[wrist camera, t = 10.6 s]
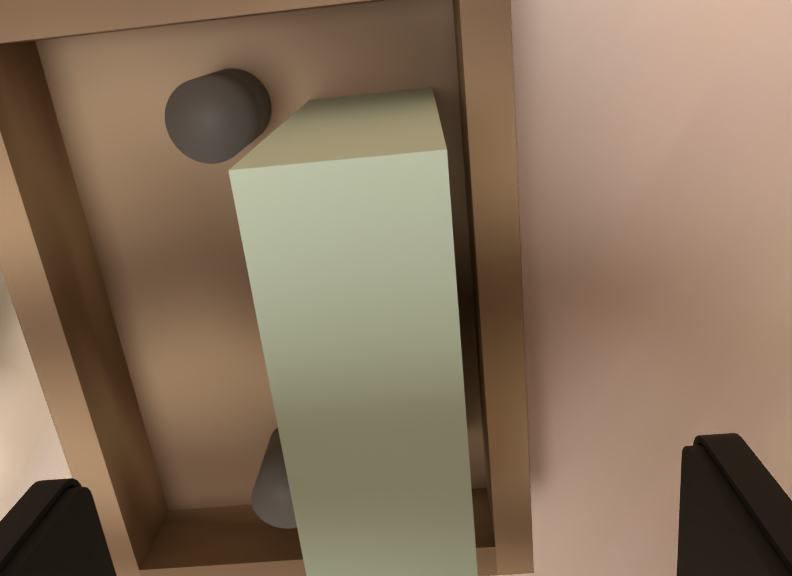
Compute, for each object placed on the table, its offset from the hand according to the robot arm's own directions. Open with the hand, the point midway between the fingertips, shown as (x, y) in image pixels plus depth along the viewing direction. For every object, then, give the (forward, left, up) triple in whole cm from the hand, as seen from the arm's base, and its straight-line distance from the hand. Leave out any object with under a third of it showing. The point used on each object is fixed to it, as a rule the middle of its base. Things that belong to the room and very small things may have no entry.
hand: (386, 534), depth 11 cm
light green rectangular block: (+1, 0, -9) cm, 9 cm away
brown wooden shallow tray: (+1, +3, -10) cm, 10 cm away
